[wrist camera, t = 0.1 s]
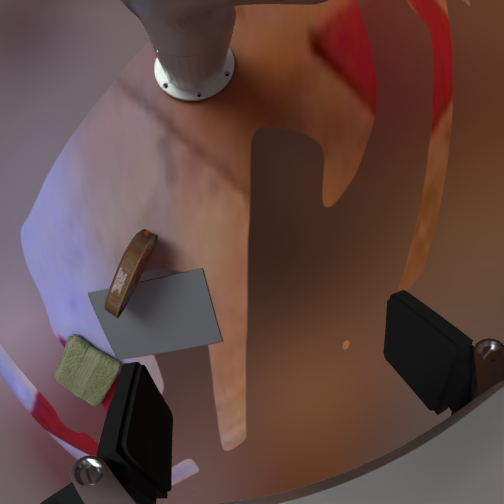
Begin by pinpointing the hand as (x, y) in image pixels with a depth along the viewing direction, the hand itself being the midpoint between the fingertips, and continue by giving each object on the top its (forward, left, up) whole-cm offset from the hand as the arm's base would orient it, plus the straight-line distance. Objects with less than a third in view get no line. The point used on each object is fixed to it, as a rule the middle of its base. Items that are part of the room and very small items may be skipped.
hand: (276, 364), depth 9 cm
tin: (+6, -16, -37) cm, 40 cm away
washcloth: (+26, -36, -37) cm, 58 cm away
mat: (+17, -16, -37) cm, 43 cm away
